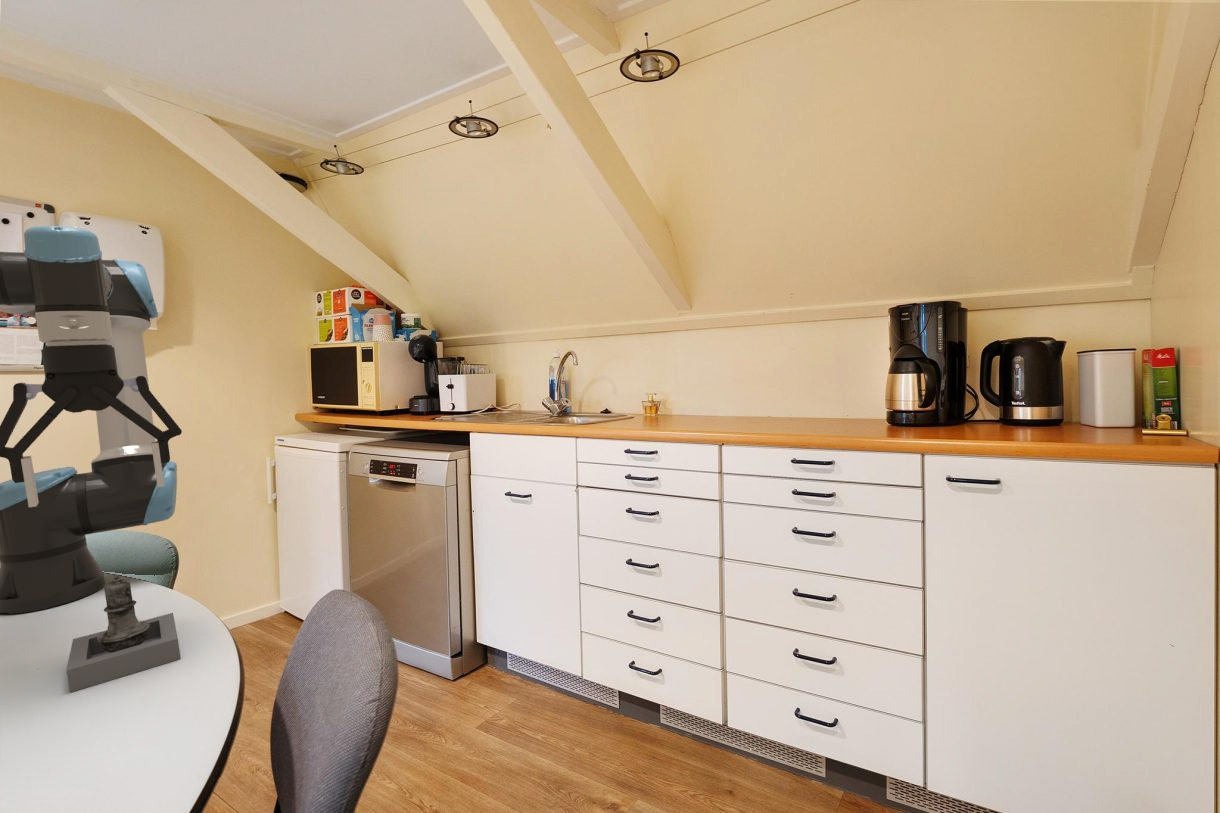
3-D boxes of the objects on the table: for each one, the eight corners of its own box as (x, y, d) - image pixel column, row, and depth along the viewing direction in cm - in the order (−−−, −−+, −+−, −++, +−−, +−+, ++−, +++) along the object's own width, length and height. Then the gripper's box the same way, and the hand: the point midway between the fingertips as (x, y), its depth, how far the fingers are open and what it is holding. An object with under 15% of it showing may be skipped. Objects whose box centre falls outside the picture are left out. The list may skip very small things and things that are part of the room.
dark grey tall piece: (123, 667, 80) (110, 583, 79) (89, 665, 81) (76, 582, 80) (163, 646, 86) (152, 567, 85) (131, 643, 87) (120, 566, 86)
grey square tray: (76, 658, 85) (73, 639, 84) (175, 631, 92) (173, 612, 92) (69, 692, 76) (66, 670, 75) (180, 658, 83) (177, 638, 83)
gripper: (-65, 347, 70) (-34, 520, 72) (191, 340, 86) (209, 482, 88) (-51, 348, 76) (-23, 508, 78) (186, 341, 91) (203, 474, 94)
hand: (100, 494), depth 83 cm, fingers open, 13 cm apart
